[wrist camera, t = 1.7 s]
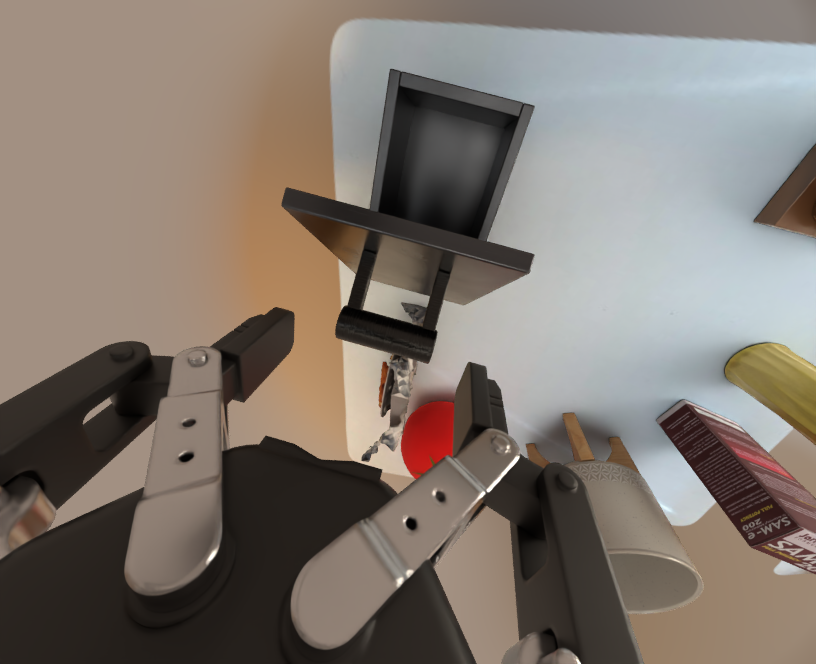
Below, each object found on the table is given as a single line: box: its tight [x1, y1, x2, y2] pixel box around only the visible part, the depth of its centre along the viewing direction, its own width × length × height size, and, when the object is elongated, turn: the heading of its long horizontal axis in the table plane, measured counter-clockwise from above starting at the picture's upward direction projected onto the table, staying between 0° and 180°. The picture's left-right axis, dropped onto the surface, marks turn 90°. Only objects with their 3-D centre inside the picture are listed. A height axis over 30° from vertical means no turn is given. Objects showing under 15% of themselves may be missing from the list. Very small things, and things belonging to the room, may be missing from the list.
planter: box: [526, 413, 704, 614], centre depth 38 cm, size 13×13×18 cm
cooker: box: [369, 69, 535, 241], centre depth 27 cm, size 15×10×9 cm
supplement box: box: [656, 400, 816, 574], centre depth 33 cm, size 9×5×16 cm, turn 68°
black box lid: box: [282, 188, 534, 364], centre depth 19 cm, size 16×10×6 cm
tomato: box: [401, 401, 454, 479], centre depth 42 cm, size 12×13×11 cm
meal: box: [362, 303, 427, 462], centre depth 36 cm, size 15×4×13 cm, turn 172°
